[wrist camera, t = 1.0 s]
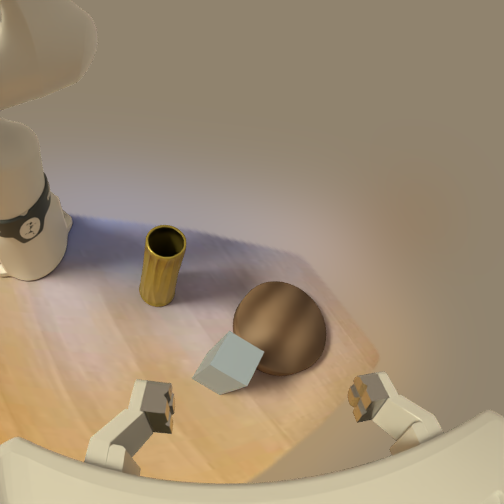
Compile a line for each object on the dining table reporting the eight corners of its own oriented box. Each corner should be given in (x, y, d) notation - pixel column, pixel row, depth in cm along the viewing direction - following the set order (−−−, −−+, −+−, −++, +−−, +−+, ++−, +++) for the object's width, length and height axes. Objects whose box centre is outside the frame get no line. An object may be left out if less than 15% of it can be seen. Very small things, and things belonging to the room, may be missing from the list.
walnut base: (213, 332, 43) (217, 326, 41) (266, 272, 54) (273, 265, 52) (289, 394, 42) (298, 392, 39) (329, 326, 53) (338, 321, 50)
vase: (181, 287, 46) (198, 238, 35) (162, 314, 42) (172, 271, 31) (152, 268, 46) (161, 214, 35) (132, 293, 42) (132, 243, 31)
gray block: (191, 378, 38) (209, 364, 29) (207, 353, 41) (229, 330, 32) (219, 394, 38) (247, 386, 29) (233, 369, 41) (264, 351, 32)
